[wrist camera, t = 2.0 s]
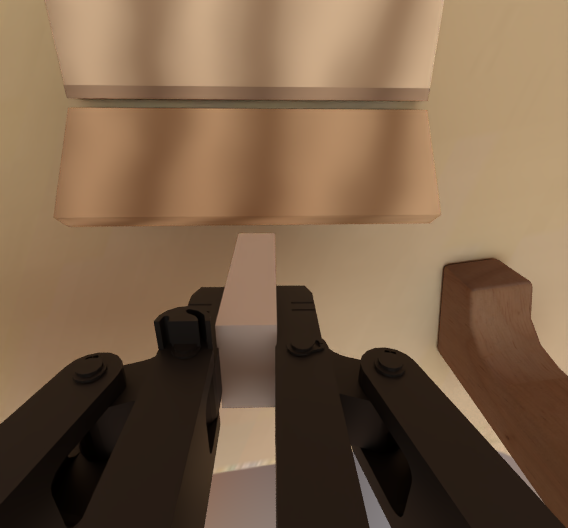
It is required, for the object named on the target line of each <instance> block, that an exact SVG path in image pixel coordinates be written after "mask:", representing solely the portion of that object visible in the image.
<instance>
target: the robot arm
mask: <svg viewBox="0 0 568 528" xmlns="http://www.w3.org/2000/svg"><path fill="white" fill-rule="evenodd" d="M154 326H155V331H156V337H157V343H158V348H159V350H158V352H157V355H156V356H155V357H153V358H151V359H148V360H144V361H141V362H136V363H132V364H128V365H123V363H122V360H121V359H120V358H119V357H118V356H117V355H115V354H112V353H95V354H90V355H86V356H84V357H82V358H79V359H77V360H75V361H73V362H72V363H70V364H69V365H68V366H66V367H65V368H64V369H63V370H61V371H60V372H59V373H58V374H57V375H56V376H55V377H53V378H52V379H51V380H50V381H49V382H48V383H47V384H46V385H44V386H43V387H42V388H41V389H40V390H39V391H38V392H36V393H35V394H34V395H33V396H32V397H31V398H30V399H29V400H27V401H26V402H25V403H24V404H23V405H22V406H21V407H19V408H18V409H17V410H16V411H15V412H14V413H13V414H12V415H10V416H9V417H8V418H7V419H6V420H5V421H4V422H2V423H1V424H0V528H204V525H205V519H206V512H207V506H208V499H209V493H210V487H211V481H212V474H213V468H214V461H215V455H216V449H217V442H218V436H219V430H220V416H219V408H220V402H221V399H222V408H252V407H275V444H276V528H369V523H368V519H367V515H366V510H365V506H364V501H363V497H362V493H361V488H360V484H359V479H358V475H357V471H356V466H355V462H354V457H353V453H352V450H353V452H354V454H355V456H356V458H357V460H358V462H359V464H360V466H361V468H362V470H363V472H364V474H365V476H366V478H367V480H368V482H369V484H370V486H371V488H372V490H373V492H374V494H375V496H376V498H377V500H378V502H379V504H380V506H381V508H382V510H383V512H384V514H385V516H386V518H387V520H388V522H389V524H390V526H391V528H566V527H565V526H564V525H563V524H562V523H561V521H560V520H559V519H558V518H557V517H556V516H555V515H554V514H553V513H552V512H551V510H550V509H549V508H548V507H547V506H546V505H545V504H544V503H543V502H542V501H541V500H540V498H539V497H538V496H537V495H536V494H535V493H534V492H533V491H532V490H531V489H530V487H529V486H528V485H527V484H526V483H525V482H524V481H523V480H522V479H521V478H520V476H519V475H518V474H517V473H516V472H515V471H514V470H513V469H512V468H511V467H510V465H509V464H508V463H507V462H506V461H505V460H504V459H503V458H502V457H501V456H500V454H498V452H497V451H496V450H495V449H494V448H493V447H492V446H491V445H490V443H489V442H488V441H487V440H486V439H485V438H484V437H483V436H482V435H481V434H480V432H479V431H478V430H477V429H476V428H475V427H474V426H473V425H472V424H471V423H470V421H469V420H468V419H467V418H466V417H465V416H464V415H463V414H462V413H461V412H460V410H459V409H458V408H457V407H456V406H455V405H454V404H453V403H452V402H451V401H450V400H449V398H448V397H447V396H446V395H445V394H444V393H443V392H442V391H441V390H440V389H439V387H438V386H437V385H436V384H435V383H434V382H433V381H432V380H431V379H430V378H429V376H428V375H427V374H426V373H425V372H424V371H423V370H422V369H421V368H420V367H419V365H418V364H417V363H416V362H415V361H414V360H413V359H411V358H410V357H409V356H408V355H406V354H404V353H402V352H400V351H398V350H395V349H390V348H374V349H371V350H368V351H367V352H366V353H365V354H364V355H363V356H362V358H361V360H358V359H354V358H349V357H345V356H342V355H339V354H337V353H335V352H333V351H332V350H330V349H329V347H328V345H327V344H326V342H325V341H324V340H323V339H322V338H321V333H320V328H319V323H318V319H317V314H316V311H315V305H314V300H313V295H312V293H311V292H310V291H309V290H308V289H307V288H306V287H305V286H276V263H275V233H239V234H238V238H237V241H236V245H235V249H234V253H233V257H232V261H231V265H230V269H229V273H228V277H227V281H226V285H225V287H201V288H200V289H199V290H198V291H196V292H195V293H194V294H193V295H192V296H191V299H190V301H189V304H188V306H186V307H177V308H174V309H171V310H168V311H166V312H164V313H162V314H161V315H159V316H158V317H157V318H156V319H155V321H154ZM351 446H352V449H351Z"/></svg>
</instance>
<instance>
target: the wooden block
mask: <svg viewBox="0 0 568 528" xmlns="http://www.w3.org/2000/svg"><path fill="white" fill-rule="evenodd" d="M531 305H532V284H531V282H530V281H529V280H527V279H526V278H524V277H523V276H521V275H520V274H518V273H517V272H515V271H514V270H512V269H511V268H509V267H508V266H507V265H505V264H504V263H502V262H501V261H499V260H497V259H489V260H482V261H474V262H467V263H459V264H452V265H447V266H445V268H444V277H443V290H442V302H441V315H440V328H439V340H438V351H439V353H440V354H441V355H442V357H443V358H444V360H445V361H446V363H447V364H448V365H449V367H450V368H451V370H452V371H453V373H454V374H455V375H456V377H457V378H458V380H459V381H460V383H461V384H462V386H463V387H464V388H465V390H466V391H467V393H468V394H469V396H470V397H471V398H472V400H473V401H474V403H475V404H476V406H477V407H478V409H479V410H480V411H481V413H482V414H483V416H484V417H485V419H486V420H487V422H488V423H489V424H490V426H491V427H492V429H493V430H494V432H495V433H496V435H497V436H498V437H499V439H500V440H501V442H502V443H503V445H504V446H505V447H506V449H507V450H508V452H509V453H510V455H511V456H512V458H513V459H514V460H515V462H516V463H517V465H518V466H519V467H520V469H521V470H522V472H523V473H524V475H525V476H526V478H527V479H528V480H529V482H530V483H531V485H532V486H533V488H534V489H535V490H536V492H537V493H538V495H539V496H540V498H541V499H542V501H543V502H544V504H545V505H546V506H547V507H548V508H549V509H550V510H551V512H552V513H553V514H554V515H555V516H556V517H557V518H558V519H559V520H560V521H561V523H562V524H563V525H564V526H565V527H566V528H568V376H567V375H566V374H565V373H564V372H563V371H562V370H561V369H559V367H558V366H557V365H556V364H555V362H554V361H553V360H552V358H551V357H550V356H549V355H548V353H547V352H546V351H545V350H544V348H543V347H542V346H541V344H540V342H539V339H538V336H537V333H536V331H535V328H534V325H533V323H532V320H531Z"/></svg>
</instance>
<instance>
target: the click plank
mask: <svg viewBox="0 0 568 528" xmlns="http://www.w3.org/2000/svg"><path fill="white" fill-rule="evenodd" d="M440 215H441V209H440V201H439V194H438V186H437V179H436V172H435V164H434V157H433V149H432V142H431V134H430V127H429V120H428V112H427V110H364V109H202V108H68V113H67V121H66V128H65V136H64V143H63V151H62V158H61V166H60V173H59V181H58V188H57V196H56V203H55V211H54V218H55V219H57V220H58V221H60V222H62V223H64V224H65V225H67V226H69V227H83V226H193V225H302V224H412V223H431V222H432V221H433V220H435V219H436V218H437V217H439V216H440Z"/></svg>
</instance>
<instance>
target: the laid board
mask: <svg viewBox="0 0 568 528" xmlns="http://www.w3.org/2000/svg"><path fill="white" fill-rule="evenodd" d="M45 4H46V9H47V13H48V17H49V22H50V26H51V30H52V35H53V39H54V43H55V47H56V52H57V56H58V60H59V65H60V69H61V73H62V78H63V82H64V88H65V92H66V96H67V98H83V99H219V100H355V101H428V98H429V92H430V84H431V78H432V72H433V66H434V60H435V53H436V47H437V41H438V35H439V29H440V23H441V17H442V11H443V5H444V0H45Z"/></svg>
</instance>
